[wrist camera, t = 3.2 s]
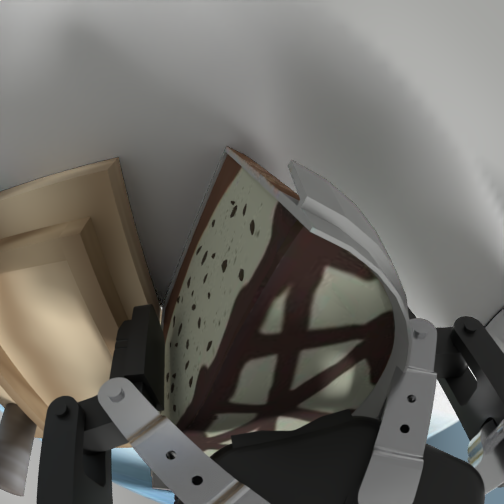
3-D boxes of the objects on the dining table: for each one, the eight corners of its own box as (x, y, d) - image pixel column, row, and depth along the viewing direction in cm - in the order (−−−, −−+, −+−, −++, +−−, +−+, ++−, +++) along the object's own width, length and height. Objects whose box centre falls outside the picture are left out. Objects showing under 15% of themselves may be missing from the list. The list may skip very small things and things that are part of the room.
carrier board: (118, 157, 13) (29, 270, 5) (202, 414, 23) (213, 518, 16) (-86, 228, 12) (-163, 313, 4) (38, 420, 22) (22, 503, 14)
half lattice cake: (251, 347, 20) (286, 495, 12) (156, 326, 18) (149, 492, 10) (355, 169, 15) (503, 288, 7) (240, 115, 13) (329, 195, 5)
